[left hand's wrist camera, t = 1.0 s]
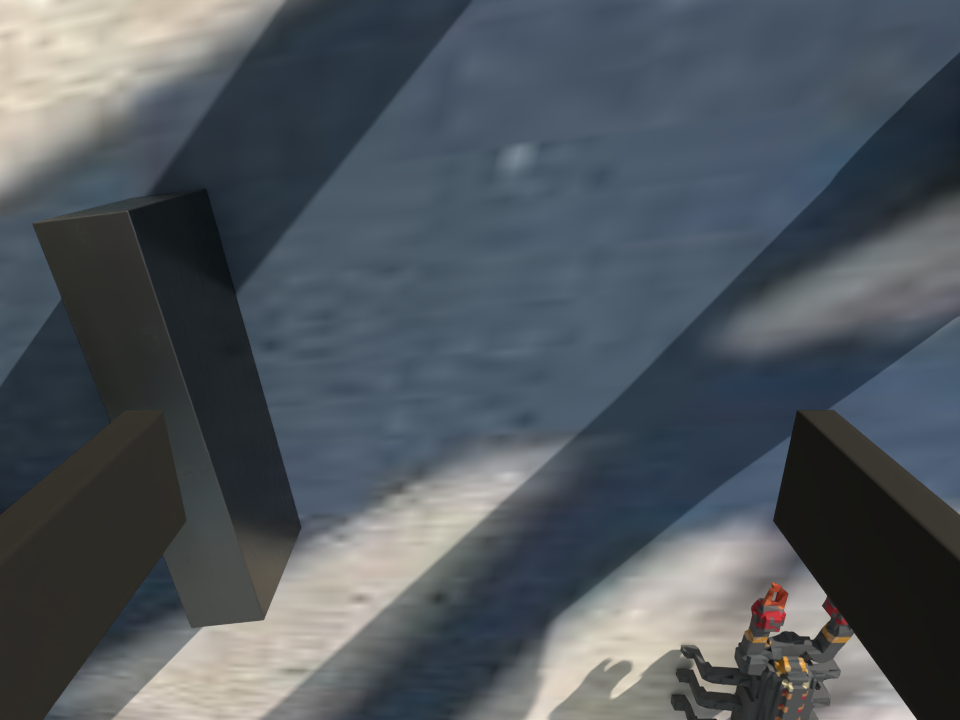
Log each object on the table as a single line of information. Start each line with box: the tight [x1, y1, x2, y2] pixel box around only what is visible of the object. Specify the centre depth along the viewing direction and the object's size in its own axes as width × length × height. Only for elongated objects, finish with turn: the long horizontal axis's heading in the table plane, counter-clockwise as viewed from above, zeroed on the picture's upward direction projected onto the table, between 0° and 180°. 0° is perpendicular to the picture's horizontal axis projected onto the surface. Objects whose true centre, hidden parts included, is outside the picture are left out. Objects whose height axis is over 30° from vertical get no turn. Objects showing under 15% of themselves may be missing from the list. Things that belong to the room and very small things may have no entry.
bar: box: [33, 189, 301, 628], centre depth 39 cm, size 26×5×10 cm, turn 7°
